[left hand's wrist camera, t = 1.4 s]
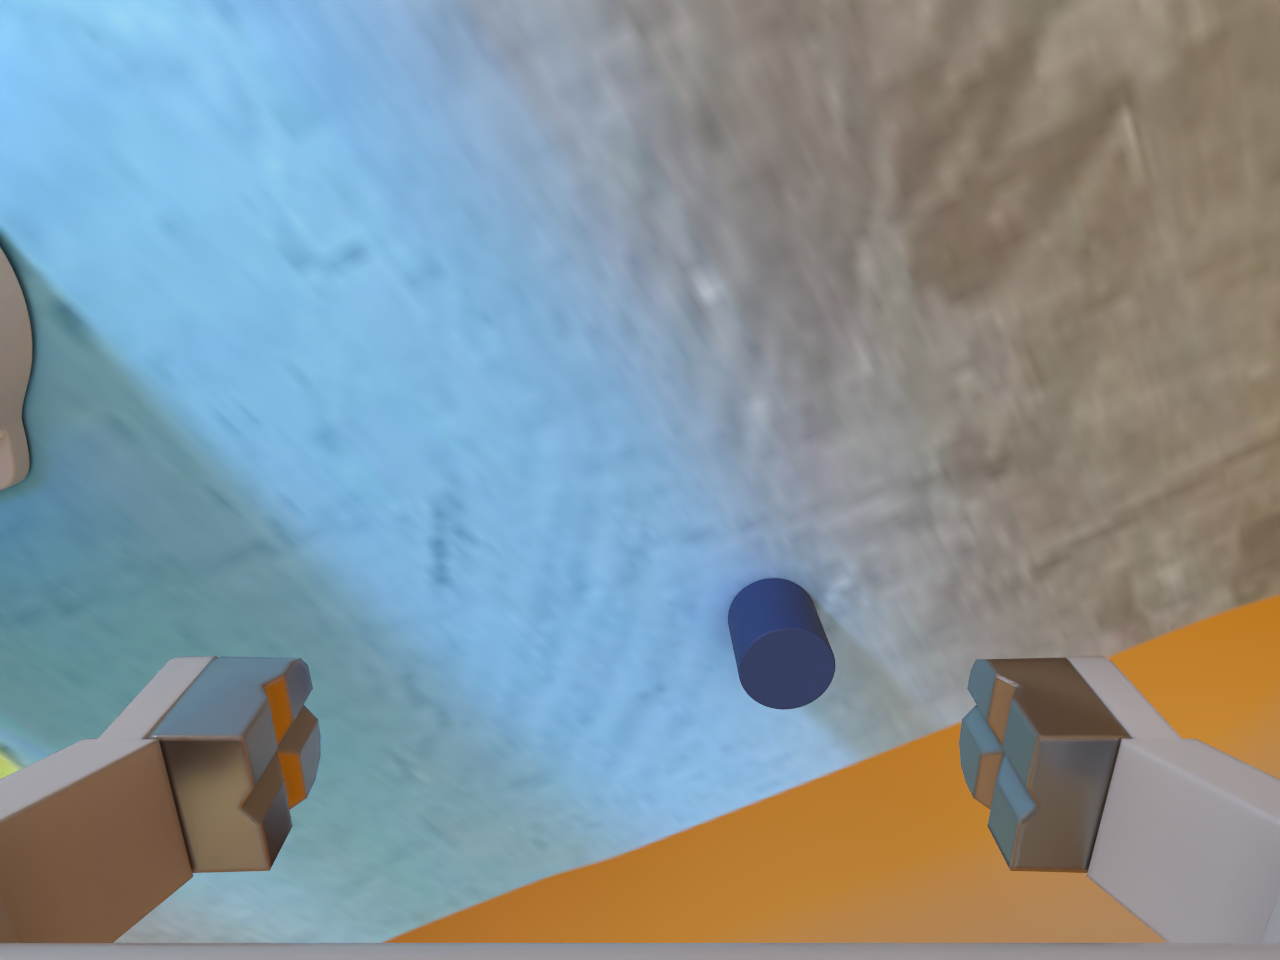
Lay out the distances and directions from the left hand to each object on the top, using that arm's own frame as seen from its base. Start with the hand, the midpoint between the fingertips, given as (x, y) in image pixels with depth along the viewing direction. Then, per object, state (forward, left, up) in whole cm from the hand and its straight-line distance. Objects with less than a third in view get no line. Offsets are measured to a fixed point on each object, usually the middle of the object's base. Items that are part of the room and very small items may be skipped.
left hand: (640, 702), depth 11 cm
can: (-2, -17, -29) cm, 34 cm away
